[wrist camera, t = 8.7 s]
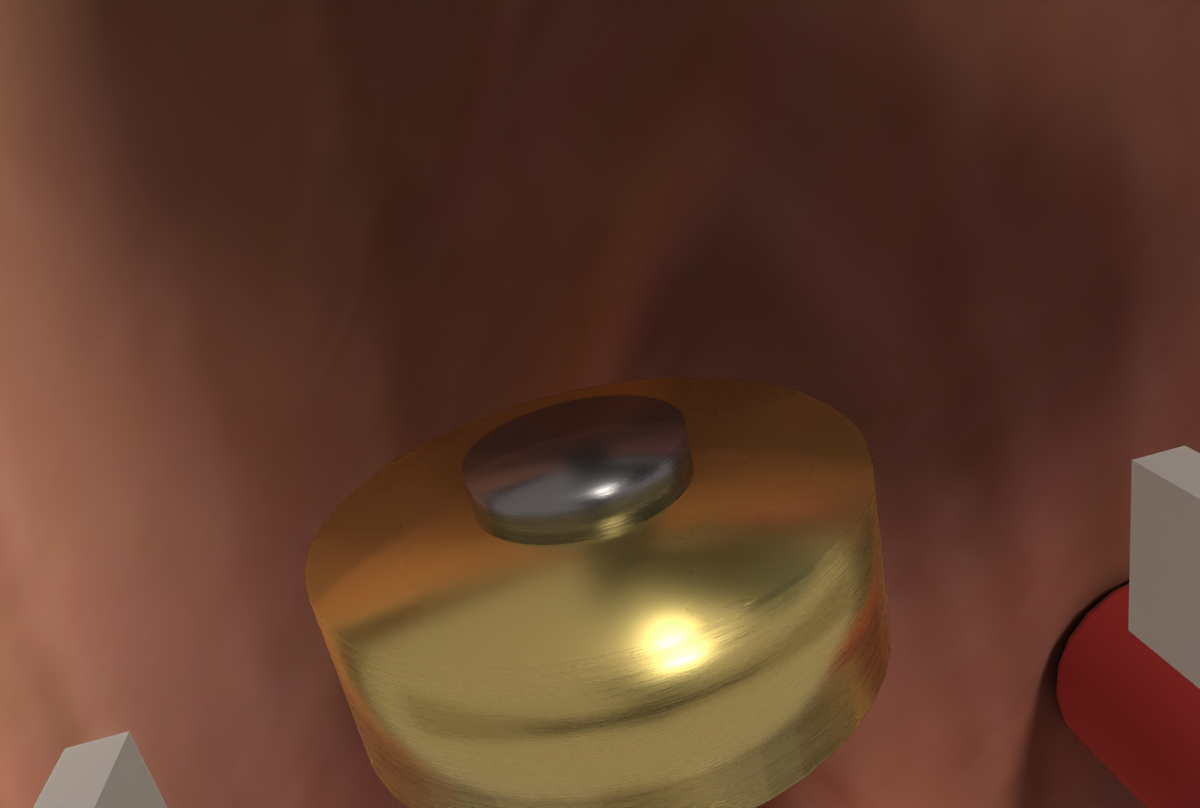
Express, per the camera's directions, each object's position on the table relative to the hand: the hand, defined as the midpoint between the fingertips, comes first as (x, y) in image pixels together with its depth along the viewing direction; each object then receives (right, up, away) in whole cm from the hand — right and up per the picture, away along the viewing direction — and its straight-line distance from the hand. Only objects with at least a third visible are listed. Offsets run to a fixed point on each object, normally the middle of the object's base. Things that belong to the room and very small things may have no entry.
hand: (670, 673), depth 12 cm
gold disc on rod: (0, -4, +10) cm, 11 cm away
